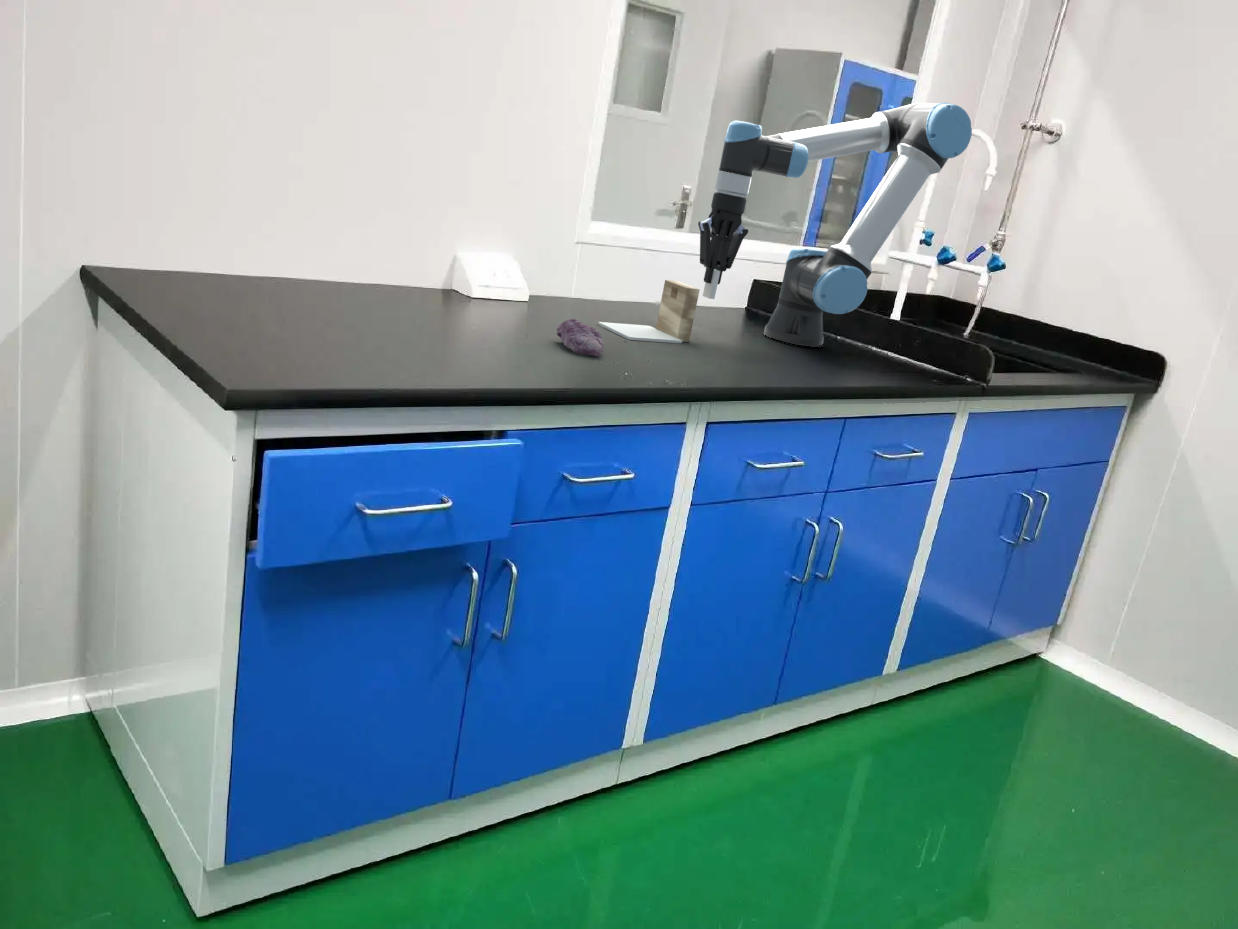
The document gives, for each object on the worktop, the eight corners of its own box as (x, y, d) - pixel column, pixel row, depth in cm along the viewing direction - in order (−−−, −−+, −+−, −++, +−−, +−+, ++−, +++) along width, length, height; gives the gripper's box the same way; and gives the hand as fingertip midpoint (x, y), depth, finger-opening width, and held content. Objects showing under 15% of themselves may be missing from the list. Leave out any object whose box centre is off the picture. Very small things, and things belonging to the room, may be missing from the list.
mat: (648, 328, 236) (649, 325, 236) (681, 343, 225) (682, 340, 225) (597, 324, 229) (597, 321, 229) (629, 339, 218) (629, 337, 217)
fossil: (582, 342, 207) (586, 317, 205) (612, 361, 195) (617, 334, 194) (545, 338, 203) (550, 313, 201) (574, 357, 191) (579, 331, 190)
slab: (667, 331, 236) (677, 281, 233) (689, 341, 229) (699, 289, 226) (655, 331, 234) (665, 279, 231) (676, 340, 227) (686, 288, 224)
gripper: (743, 195, 233) (721, 296, 240) (698, 187, 226) (676, 291, 233) (763, 200, 227) (740, 303, 234) (717, 191, 220) (694, 298, 227)
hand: (708, 297), depth 233 cm, fingers closed
